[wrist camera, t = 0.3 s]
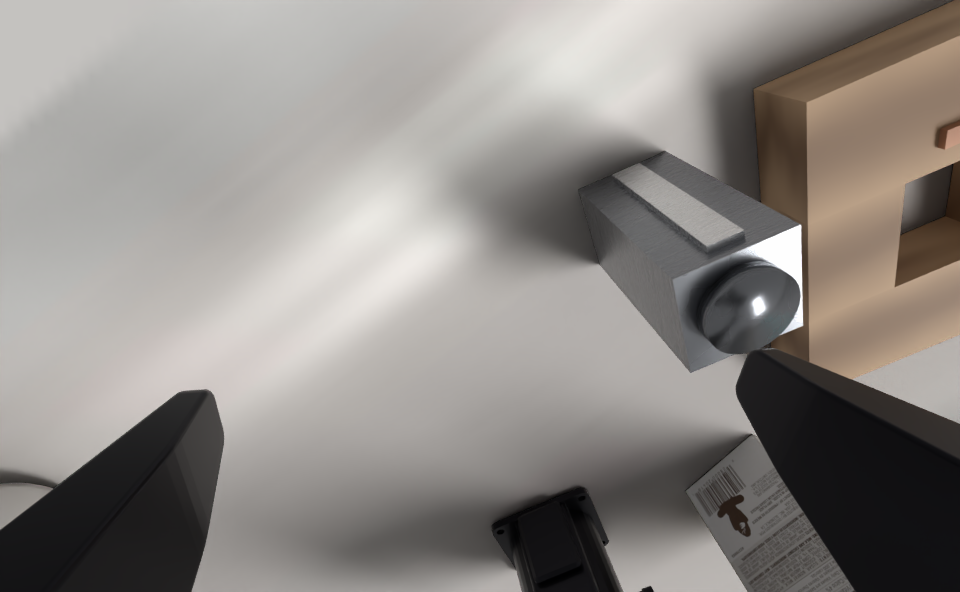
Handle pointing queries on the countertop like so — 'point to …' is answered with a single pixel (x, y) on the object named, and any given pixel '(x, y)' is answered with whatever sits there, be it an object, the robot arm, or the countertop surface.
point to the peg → (697, 258)
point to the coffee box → (763, 526)
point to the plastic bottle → (18, 499)
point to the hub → (868, 192)
